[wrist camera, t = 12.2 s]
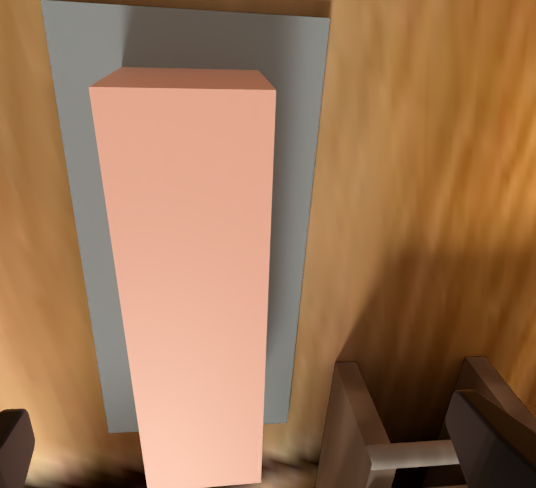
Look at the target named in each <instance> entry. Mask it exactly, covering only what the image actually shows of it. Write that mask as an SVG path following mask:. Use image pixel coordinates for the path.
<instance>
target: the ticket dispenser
mask: <svg viewBox="0 0 536 488" xmlns="http://www.w3.org/2000/svg"><path fill="white" fill-rule="evenodd" d="M469 389H471V390H475V391H477V392H478V393H480V394H481V395H483V396H484V397H485V398H487V399H488V400H490V401H491V402H493V403H494V404H495V405H497V406H498V407H500V408H501V409H503V410H504V411H506V412H507V413H508V414H510V415H511V416H513V417H514V418H516V419H517V420H518V421H520V422H521V423H523V424H524V425H526V426H527V427H529V428H530V429H531V430H533V431H534V432H536V419H535V418H534V417H533V415H532V414H531V413H530V412H529V411H528V409H527V408H526V407H525V406H524V404H523V403H522V402H521V401H520V399H519V398H518V397H517V396H516V394H515V393H514V392H513V391H512V389H511V388H510V387H509V386H508V385H507V383H506V382H505V381H504V380H503V378H502V377H501V376H500V375H499V373H498V372H497V371H496V370H495V368H494V367H493V366H492V365H491V363H490V362H489V361H488V360H487V358H486V357H485V356H480V357H465V360H464V363H463V366H462V369H461V372H460V375H459V378H458V381H457V384H456V387H455V390H454V392H455V391H456V390H469ZM445 419H446V417H445ZM424 466H429V468H428V471H427V474H426V476H425V479H424V482H423V485H422V488H468V486H467V483H466V480H465V478H464V475H463V472H462V469H461V466H460V464H459V461H458V458H457V455H456V452H455V450H454V447H453V444H452V441H451V438H450V436H449V433H448V430H447V427H446V420H444V423H443V426H442V429H441V432H440V435H439V438H438V440H437V441H422V442H407V443H392V444H391V443H390V441H389V438H388V436H387V434H386V431H385V429H384V427H383V424H382V422H381V420H380V417H379V415H378V412H377V410H376V408H375V405H374V403H373V401H372V398H371V396H370V394H369V391H368V389H367V386H366V384H365V382H364V379H363V377H362V375H361V372H360V370H359V368H358V365H357V363H356V362H335V367H334V373H333V379H332V385H331V391H330V398H329V404H328V410H327V416H326V422H325V428H324V435H323V441H322V447H321V453H320V459H319V465H318V471H317V478H316V484H315V488H391V486H392V483H393V479H394V476H395V472H396V469H397V468H411V467H424Z"/></svg>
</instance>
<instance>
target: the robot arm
mask: <svg viewBox="0 0 536 488" xmlns="http://www.w3.org/2000/svg"><path fill="white" fill-rule="evenodd" d="M445 420H446V427H447V430H448V433H449V436H450V438H451V441H452V444H453V447H454V450H455V452H456V455H457V458H458V461H459V464H460V466H461V469H462V472H463V475H464V478H465V480H466V483H467V486H468V488H536V432H534V431H533V430H531V429H530V428H529V427H527V426H526V425H524V424H523V423H521V422H520V421H518V420H517V419H516V418H514V417H513V416H511V415H510V414H508V413H507V412H506V411H504V410H503V409H501V408H500V407H498V406H497V405H495V404H494V403H493V402H491V401H490V400H488V399H487V398H485V397H484V396H483V395H481V394H480V393H478V392H477V391H475V390H471V389H469V390H456V391H455V392H454V393H453V395H452V398H451V401H450V404H449V407H448V410H447V413H446V419H445ZM34 445H35V438H34V433H33V429H32V425H31V422H30V418H29V414H28V412H27V410H25V409H6V410H3V411H1V412H0V488H24V484H25V480H26V476H27V473H28V469H29V465H30V462H31V458H32V454H33V450H34Z"/></svg>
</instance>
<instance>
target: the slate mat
mask: <svg viewBox="0 0 536 488" xmlns="http://www.w3.org/2000/svg"><path fill="white" fill-rule="evenodd" d="M40 1H41V7H42V13H43V20H44V26H45V32H46V39H47V45H48V51H49V58H50V64H51V70H52V77H53V83H54V89H55V96H56V102H57V108H58V115H59V121H60V127H61V134H62V140H63V147H64V153H65V159H66V166H67V172H68V178H69V185H70V191H71V197H72V204H73V210H74V216H75V223H76V229H77V235H78V242H79V248H80V254H81V261H82V267H83V273H84V280H85V286H86V292H87V299H88V305H89V311H90V318H91V324H92V331H93V337H94V343H95V350H96V356H97V362H98V369H99V375H100V381H101V388H102V394H103V400H104V407H105V413H106V419H107V426H108V432H109V433H122V432H139V428H138V421H137V414H136V408H135V401H134V394H133V387H132V380H131V373H130V367H129V360H128V353H127V346H126V339H125V333H124V326H123V319H122V312H121V305H120V298H119V292H118V285H117V278H116V271H115V264H114V257H113V251H112V244H111V237H110V230H109V223H108V216H107V210H106V203H105V196H104V189H103V182H102V175H101V169H100V162H99V155H98V148H97V141H96V134H95V128H94V121H93V114H92V107H91V100H90V94H89V86H91V85H93V84H94V83H96V82H98V81H99V80H101V79H103V78H104V77H106V76H108V75H109V74H111V73H113V72H114V71H116V70H117V69H119V68H121V67H143V68H189V69H235V70H259V71H260V72H261V74H262V75H263V76H264V77H265V78H266V79H267V80H268V81H269V82H270V84H271V85H272V86H273V87H274V88H275V89H276V108H275V134H274V159H273V185H272V211H271V236H270V262H269V287H268V313H267V338H266V364H265V390H264V415H263V424H276V423H287V419H288V410H289V400H290V391H291V381H292V372H293V363H294V353H295V344H296V334H297V325H298V316H299V306H300V297H301V287H302V278H303V269H304V259H305V250H306V240H307V231H308V222H309V212H310V203H311V194H312V184H313V175H314V165H315V156H316V147H317V137H318V128H319V118H320V109H321V100H322V90H323V81H324V71H325V62H326V53H327V43H328V34H329V24H330V18H320V17H304V16H288V15H273V14H257V13H241V12H225V11H209V10H194V9H178V8H162V7H146V6H130V5H115V4H99V3H83V2H67V1H51V0H40Z"/></svg>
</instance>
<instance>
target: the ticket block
mask: <svg viewBox="0 0 536 488" xmlns="http://www.w3.org/2000/svg"><path fill="white" fill-rule="evenodd" d="M89 94H90V100H91V107H92V114H93V121H94V128H95V134H96V141H97V148H98V155H99V162H100V169H101V175H102V182H103V189H104V196H105V203H106V210H107V216H108V223H109V230H110V237H111V244H112V251H113V257H114V264H115V271H116V278H117V285H118V292H119V298H120V305H121V312H122V319H123V326H124V333H125V339H126V346H127V353H128V360H129V367H130V373H131V380H132V387H133V394H134V401H135V408H136V414H137V421H138V428H139V435H140V442H141V449H142V455H143V462H144V469H145V476H146V483H147V488H206V487H217V486H228V485H239V484H250V483H261V466H262V441H263V415H264V390H265V364H266V338H267V313H268V287H269V262H270V236H271V211H272V185H273V159H274V134H275V108H276V89H275V88H274V87H273V86H272V85H271V84H270V82H269V81H268V80H267V79H266V78H265V77H264V76H263V75H262V74H261V72H260V71H259V70H235V69H189V68H143V67H121V68H119V69H117V70H116V71H114V72H113V73H111V74H109V75H108V76H106V77H104V78H103V79H101V80H99V81H98V82H96V83H94V84H93V85H91V86H89Z"/></svg>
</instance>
